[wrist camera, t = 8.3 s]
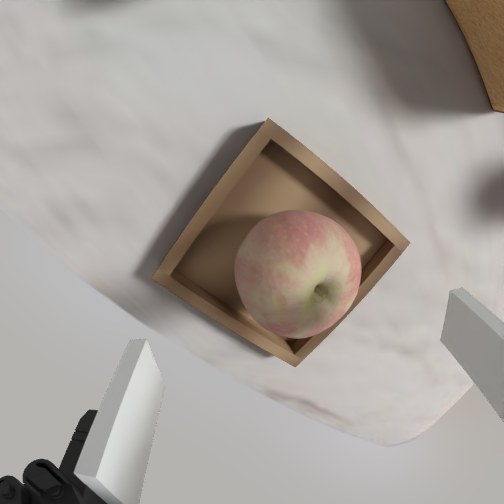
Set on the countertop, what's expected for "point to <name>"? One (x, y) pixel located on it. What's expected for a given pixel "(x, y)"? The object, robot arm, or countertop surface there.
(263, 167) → the walnut tray
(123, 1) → the countertop surface
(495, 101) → the bread
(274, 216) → the apple
